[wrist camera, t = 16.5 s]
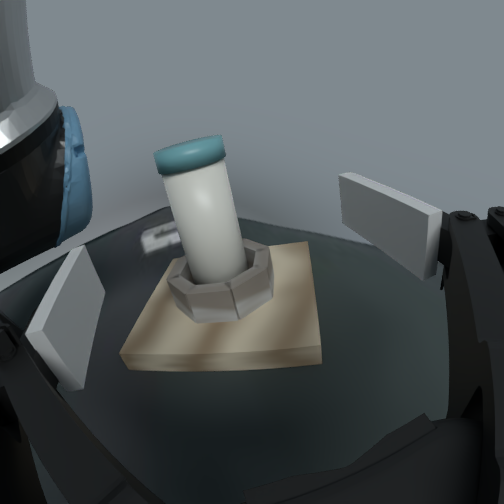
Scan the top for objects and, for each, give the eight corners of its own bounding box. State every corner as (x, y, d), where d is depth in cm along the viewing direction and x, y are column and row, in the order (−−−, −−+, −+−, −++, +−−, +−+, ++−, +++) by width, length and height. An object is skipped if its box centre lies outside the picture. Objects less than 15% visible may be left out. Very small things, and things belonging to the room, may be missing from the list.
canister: (191, 311, 27) (142, 158, 21) (204, 278, 31) (167, 145, 25) (252, 306, 26) (213, 141, 20) (257, 272, 31) (226, 132, 24)
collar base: (128, 369, 24) (103, 326, 22) (178, 272, 38) (166, 236, 36) (322, 363, 21) (318, 311, 19) (309, 256, 35) (304, 216, 33)
